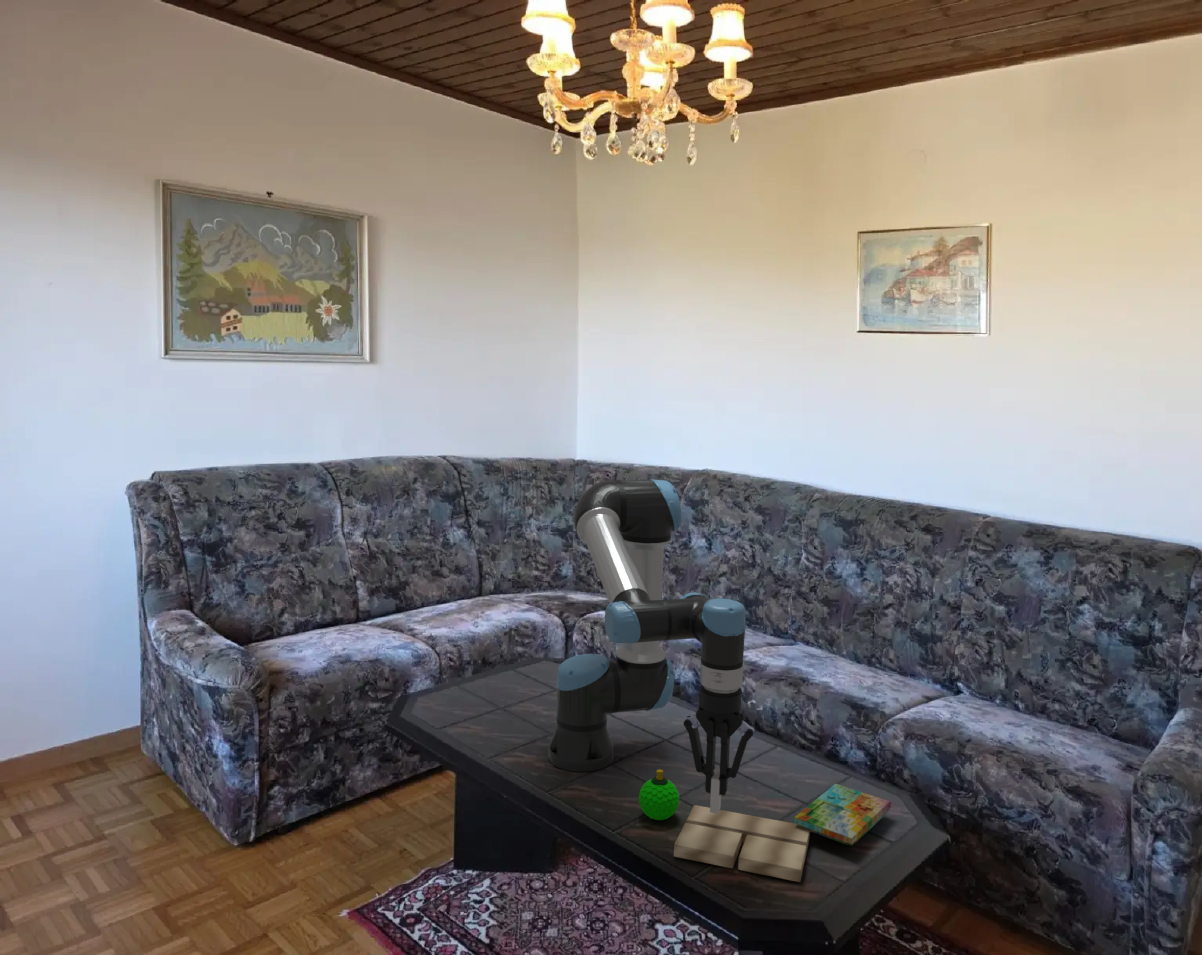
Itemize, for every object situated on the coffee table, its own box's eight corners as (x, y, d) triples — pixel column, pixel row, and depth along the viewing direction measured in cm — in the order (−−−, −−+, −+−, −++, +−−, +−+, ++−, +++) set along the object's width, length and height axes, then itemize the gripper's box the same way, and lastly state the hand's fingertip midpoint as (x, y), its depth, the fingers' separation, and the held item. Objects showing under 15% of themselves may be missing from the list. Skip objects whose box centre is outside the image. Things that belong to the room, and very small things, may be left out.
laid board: (685, 833, 172) (686, 821, 172) (693, 815, 179) (694, 804, 178) (805, 856, 165) (806, 844, 164) (809, 837, 171) (810, 825, 171)
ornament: (638, 807, 182) (639, 760, 181) (677, 808, 182) (679, 762, 180) (638, 827, 174) (639, 779, 173) (679, 829, 174) (681, 781, 172)
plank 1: (673, 856, 163) (674, 844, 163) (685, 833, 172) (685, 822, 172) (732, 868, 160) (733, 856, 160) (741, 844, 168) (741, 833, 168)
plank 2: (738, 869, 159) (738, 857, 159) (746, 845, 168) (747, 834, 168) (800, 881, 156) (800, 869, 156) (805, 857, 164) (806, 845, 164)
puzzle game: (891, 797, 179) (852, 833, 163) (889, 819, 179) (850, 857, 164) (836, 779, 186) (794, 812, 170) (835, 800, 186) (792, 835, 171)
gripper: (680, 688, 157) (675, 812, 160) (754, 698, 153) (747, 826, 156) (689, 674, 164) (685, 793, 167) (760, 683, 160) (754, 806, 163)
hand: (715, 809), depth 162 cm, fingers closed
